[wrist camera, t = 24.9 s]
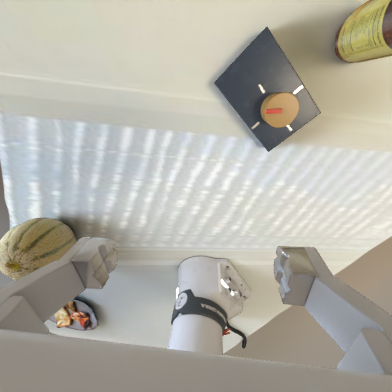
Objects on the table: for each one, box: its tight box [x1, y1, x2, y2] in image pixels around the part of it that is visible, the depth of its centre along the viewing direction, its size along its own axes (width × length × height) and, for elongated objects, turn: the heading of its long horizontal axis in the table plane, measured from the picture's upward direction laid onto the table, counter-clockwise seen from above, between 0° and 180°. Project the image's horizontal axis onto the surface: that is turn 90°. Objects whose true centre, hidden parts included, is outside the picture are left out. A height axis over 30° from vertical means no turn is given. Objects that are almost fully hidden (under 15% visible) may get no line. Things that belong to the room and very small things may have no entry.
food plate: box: [49, 299, 98, 331], centre depth 72 cm, size 25×23×4 cm
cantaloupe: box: [0, 218, 76, 280], centre depth 45 cm, size 15×15×15 cm
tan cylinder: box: [261, 92, 299, 128], centre depth 27 cm, size 4×4×4 cm
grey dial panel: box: [215, 27, 321, 152], centre depth 29 cm, size 14×9×3 cm, turn 44°
